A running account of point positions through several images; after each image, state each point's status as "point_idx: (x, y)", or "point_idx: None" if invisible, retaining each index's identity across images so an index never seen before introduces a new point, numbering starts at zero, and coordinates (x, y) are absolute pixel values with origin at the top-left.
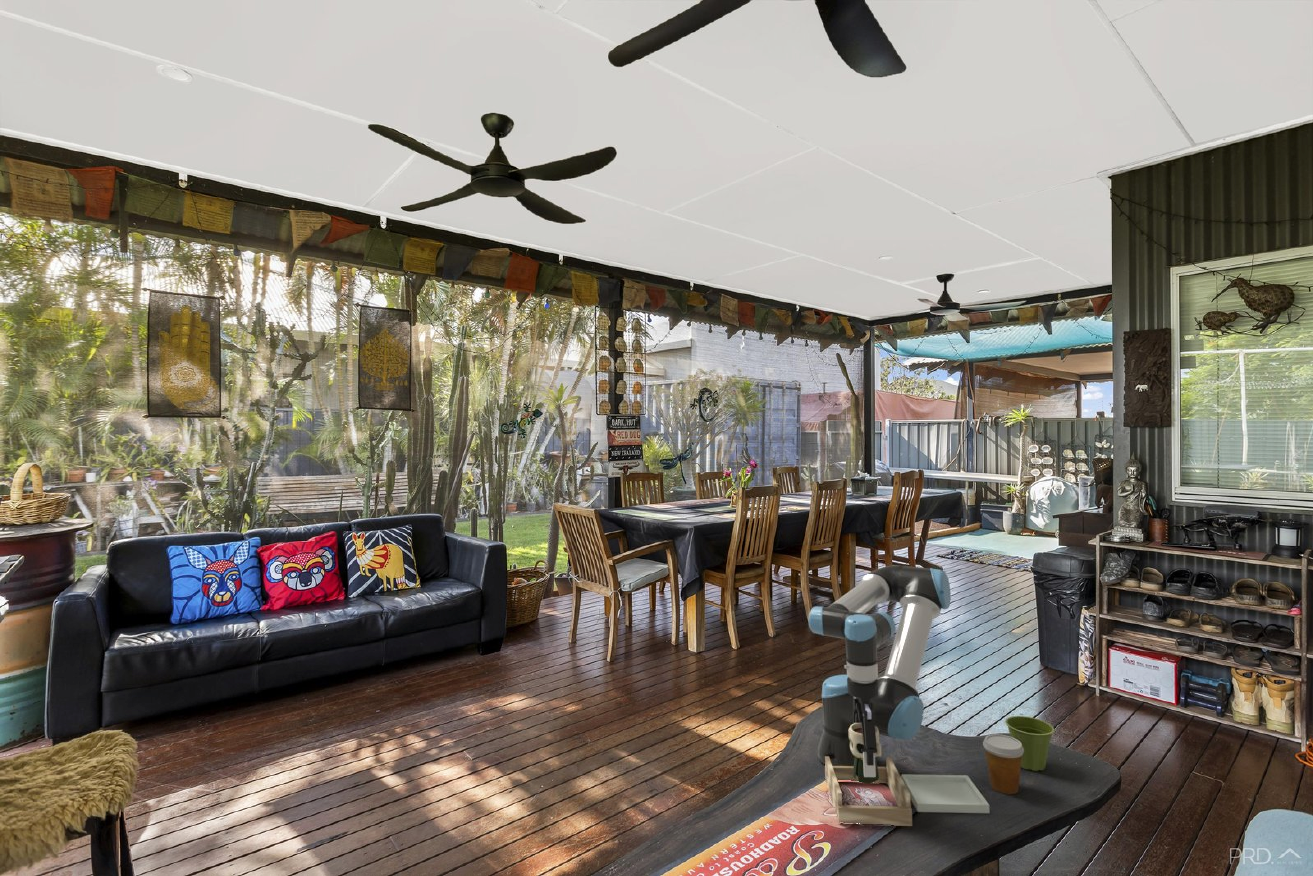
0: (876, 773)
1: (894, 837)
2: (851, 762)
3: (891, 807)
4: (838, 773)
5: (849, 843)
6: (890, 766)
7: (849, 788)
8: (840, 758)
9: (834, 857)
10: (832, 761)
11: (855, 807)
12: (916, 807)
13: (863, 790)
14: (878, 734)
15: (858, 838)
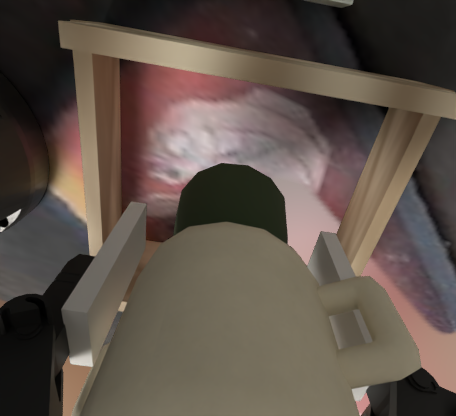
0: (275, 200)
1: (441, 168)
2: (23, 163)
3: (405, 168)
4: (110, 230)
5: (410, 281)
6: (159, 64)
7: (154, 194)
8: (14, 203)
9: (440, 321)
10: (20, 217)
11: (358, 275)
12: (329, 3)
13: (167, 156)
14: (310, 384)
15: (401, 257)
